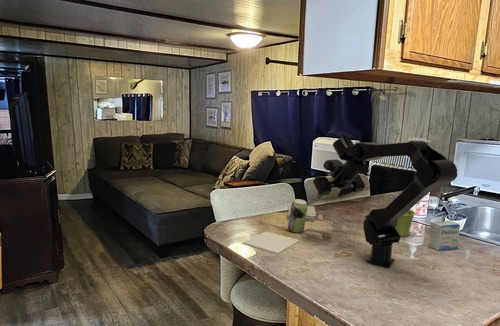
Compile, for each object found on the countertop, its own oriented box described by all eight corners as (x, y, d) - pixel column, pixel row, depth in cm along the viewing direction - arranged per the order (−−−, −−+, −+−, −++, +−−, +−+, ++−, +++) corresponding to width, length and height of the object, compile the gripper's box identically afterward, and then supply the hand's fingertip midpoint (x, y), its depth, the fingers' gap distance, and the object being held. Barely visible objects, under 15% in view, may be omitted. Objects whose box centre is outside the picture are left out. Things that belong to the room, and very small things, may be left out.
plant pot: (391, 238, 123) (393, 214, 122) (382, 229, 133) (383, 207, 132) (417, 238, 123) (419, 215, 122) (406, 230, 132) (408, 208, 131)
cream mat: (277, 254, 107) (277, 252, 107) (242, 243, 115) (242, 242, 115) (299, 241, 118) (299, 240, 118) (266, 232, 127) (266, 231, 127)
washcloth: (287, 221, 142) (287, 214, 142) (287, 209, 160) (288, 203, 159) (316, 223, 141) (317, 215, 140) (313, 211, 158) (314, 204, 158)
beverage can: (293, 227, 134) (294, 196, 132) (309, 231, 129) (311, 200, 127) (284, 231, 129) (285, 199, 127) (301, 235, 124) (302, 203, 123)
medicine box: (438, 251, 112) (441, 225, 111) (428, 246, 116) (430, 221, 115) (457, 249, 114) (460, 224, 113) (446, 244, 118) (449, 220, 117)
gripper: (360, 151, 122) (339, 178, 133) (316, 153, 115) (298, 181, 126) (376, 176, 116) (352, 202, 127) (330, 180, 108) (310, 206, 119)
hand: (328, 197), depth 125 cm, fingers open, 9 cm apart
